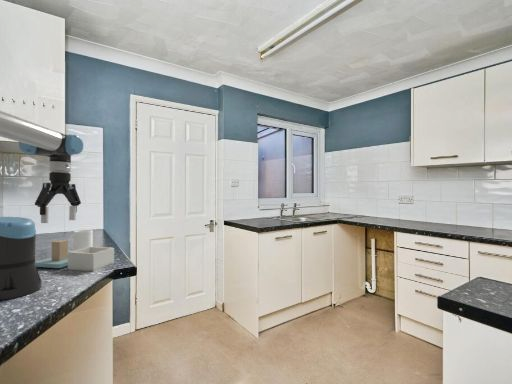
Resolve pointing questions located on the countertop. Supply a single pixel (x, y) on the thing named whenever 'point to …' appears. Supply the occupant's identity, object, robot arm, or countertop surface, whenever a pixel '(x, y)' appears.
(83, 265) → the tub
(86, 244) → the mug
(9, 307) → the countertop surface
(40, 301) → the countertop surface
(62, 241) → the lid
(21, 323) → the countertop surface
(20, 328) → the countertop surface
